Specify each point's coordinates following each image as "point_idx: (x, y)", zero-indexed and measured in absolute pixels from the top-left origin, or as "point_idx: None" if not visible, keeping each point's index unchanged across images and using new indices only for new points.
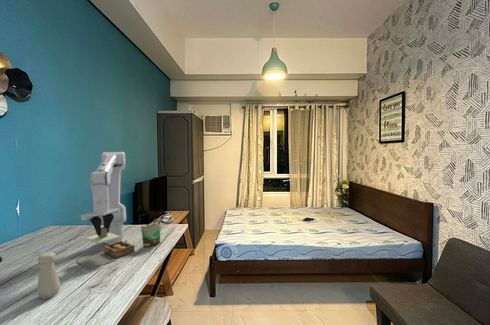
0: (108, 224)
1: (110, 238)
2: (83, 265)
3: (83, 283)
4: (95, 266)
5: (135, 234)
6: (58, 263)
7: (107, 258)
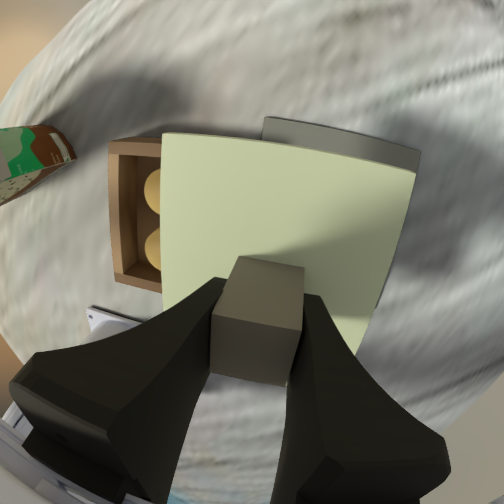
0: (176, 331)
1: (269, 154)
2: None
3: (499, 61)
4: (387, 150)
5: (50, 328)
6: (398, 358)
7: None
